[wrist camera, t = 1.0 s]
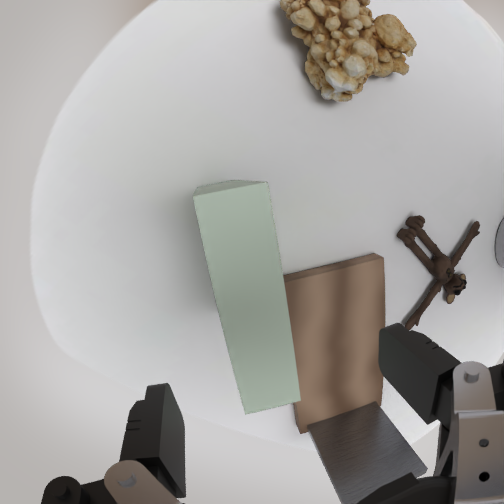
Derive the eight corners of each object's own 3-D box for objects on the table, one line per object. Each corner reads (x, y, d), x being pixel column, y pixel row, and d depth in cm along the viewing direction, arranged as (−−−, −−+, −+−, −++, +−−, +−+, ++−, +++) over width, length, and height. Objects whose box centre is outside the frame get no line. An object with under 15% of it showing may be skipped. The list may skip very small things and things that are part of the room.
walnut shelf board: (374, 253, 34) (383, 257, 32) (374, 397, 40) (381, 405, 38) (273, 277, 33) (278, 283, 31) (296, 424, 38) (300, 433, 36)
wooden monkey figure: (452, 169, 31) (503, 246, 33) (432, 171, 35) (484, 241, 37) (367, 292, 32) (433, 353, 34) (352, 282, 36) (417, 340, 39)
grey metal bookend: (375, 400, 37) (427, 468, 24) (375, 405, 37) (425, 472, 24) (306, 424, 36) (344, 506, 23) (307, 429, 36) (344, 509, 23)
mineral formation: (315, 116, 30) (240, 1, 24) (390, 77, 32) (328, -20, 27) (365, 99, 22) (269, -42, 17) (437, 62, 24) (365, -49, 19)
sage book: (232, 180, 30) (267, 182, 14) (256, 304, 33) (300, 400, 18) (197, 187, 29) (192, 196, 14) (223, 311, 33) (245, 414, 17)
